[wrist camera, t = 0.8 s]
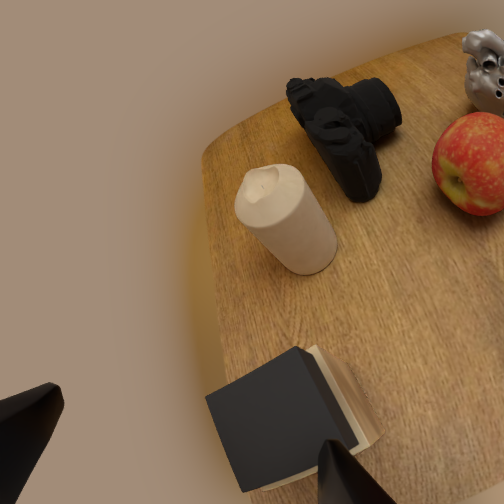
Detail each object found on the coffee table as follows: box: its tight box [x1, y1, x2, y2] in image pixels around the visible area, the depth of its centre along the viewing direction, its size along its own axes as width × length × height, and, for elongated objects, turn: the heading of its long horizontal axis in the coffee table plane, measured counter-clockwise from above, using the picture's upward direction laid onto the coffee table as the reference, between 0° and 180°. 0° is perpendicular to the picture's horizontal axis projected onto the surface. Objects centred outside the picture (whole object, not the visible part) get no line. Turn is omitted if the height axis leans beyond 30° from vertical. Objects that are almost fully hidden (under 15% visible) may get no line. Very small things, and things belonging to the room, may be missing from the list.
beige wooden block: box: [260, 344, 385, 492], centre depth 18 cm, size 6×6×8 cm
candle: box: [235, 164, 337, 275], centre depth 25 cm, size 6×6×10 cm
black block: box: [205, 346, 359, 493], centre depth 14 cm, size 6×6×2 cm
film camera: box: [286, 77, 402, 202], centre depth 28 cm, size 15×10×9 cm, turn 14°
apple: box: [432, 112, 504, 216], centre depth 19 cm, size 8×8×8 cm
